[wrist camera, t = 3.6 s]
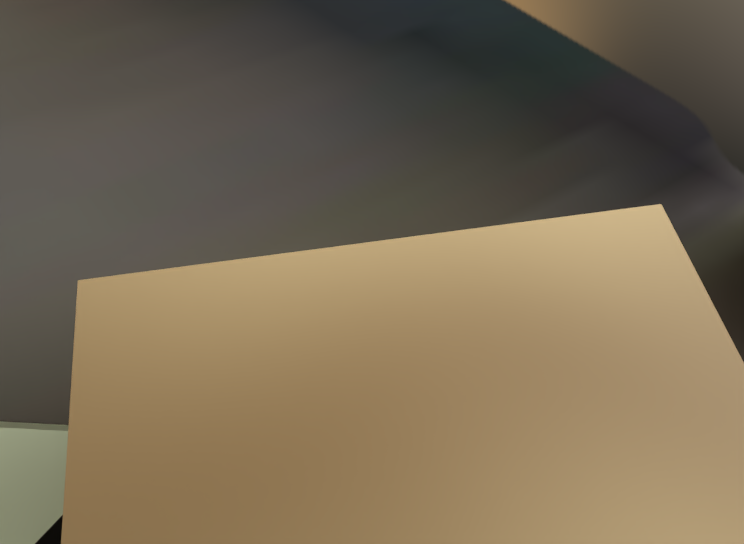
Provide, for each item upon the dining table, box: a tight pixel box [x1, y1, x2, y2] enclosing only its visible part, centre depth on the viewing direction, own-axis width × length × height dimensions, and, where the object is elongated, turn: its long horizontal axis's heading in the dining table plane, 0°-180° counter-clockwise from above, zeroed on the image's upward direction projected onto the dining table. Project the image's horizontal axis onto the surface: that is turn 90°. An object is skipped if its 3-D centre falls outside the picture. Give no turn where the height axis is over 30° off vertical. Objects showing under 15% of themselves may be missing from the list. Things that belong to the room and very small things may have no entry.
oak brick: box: [61, 204, 744, 544], centre depth 8 cm, size 6×6×12 cm
